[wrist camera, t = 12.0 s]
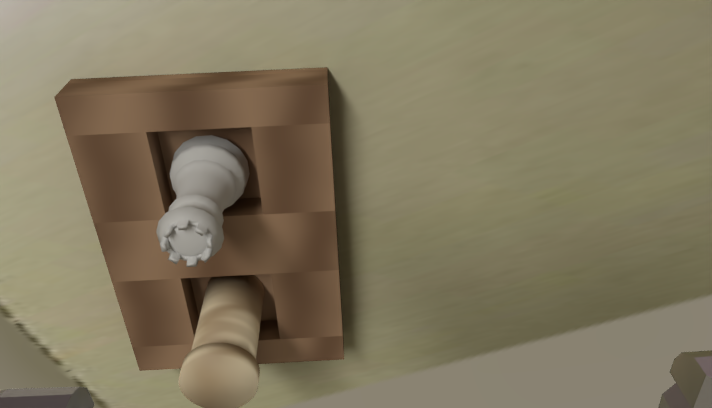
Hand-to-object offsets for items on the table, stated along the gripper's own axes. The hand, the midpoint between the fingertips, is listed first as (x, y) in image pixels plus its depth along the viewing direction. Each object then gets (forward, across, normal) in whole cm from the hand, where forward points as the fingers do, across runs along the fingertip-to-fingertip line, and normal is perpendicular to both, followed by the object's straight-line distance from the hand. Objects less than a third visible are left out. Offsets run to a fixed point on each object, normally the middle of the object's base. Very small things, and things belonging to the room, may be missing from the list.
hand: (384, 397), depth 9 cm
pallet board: (+27, +8, +15) cm, 32 cm away
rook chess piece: (+27, +8, +10) cm, 30 cm away
